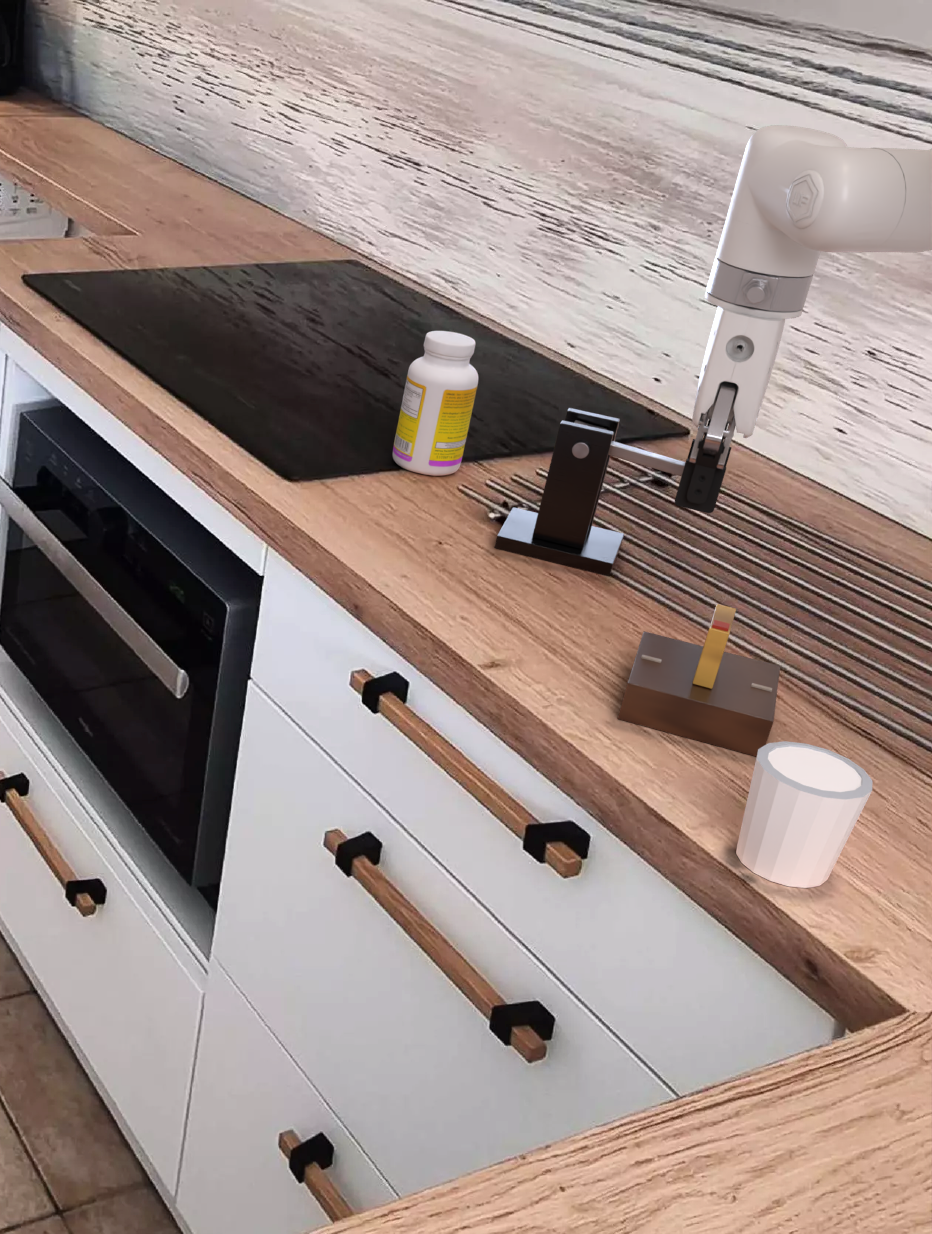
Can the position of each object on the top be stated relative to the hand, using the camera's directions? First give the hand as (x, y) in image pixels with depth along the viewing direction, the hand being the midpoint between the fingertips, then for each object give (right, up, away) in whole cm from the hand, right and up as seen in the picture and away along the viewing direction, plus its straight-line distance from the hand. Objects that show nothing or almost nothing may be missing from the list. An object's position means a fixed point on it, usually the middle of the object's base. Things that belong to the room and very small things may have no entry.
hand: (696, 495), depth 148 cm
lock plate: (-7, -18, -19) cm, 27 cm away
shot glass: (-9, -27, -37) cm, 47 cm away
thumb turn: (-7, -15, -21) cm, 27 cm away
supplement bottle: (-18, +5, +22) cm, 29 cm away
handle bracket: (-10, -4, +7) cm, 12 cm away
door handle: (-5, +2, +1) cm, 6 cm away
